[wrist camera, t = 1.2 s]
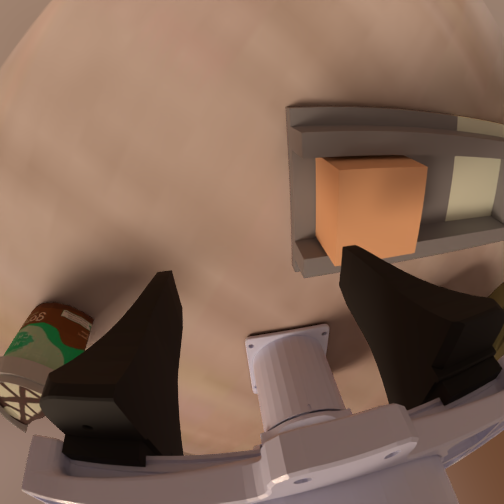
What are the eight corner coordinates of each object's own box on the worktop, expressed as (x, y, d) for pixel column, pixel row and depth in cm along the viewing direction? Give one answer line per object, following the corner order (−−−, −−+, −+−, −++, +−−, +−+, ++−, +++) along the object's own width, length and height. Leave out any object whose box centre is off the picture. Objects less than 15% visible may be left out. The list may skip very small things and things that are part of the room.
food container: (50, 267, 21) (-2, 354, 13) (102, 311, 24) (73, 406, 16) (7, 328, 24) (-28, 398, 15) (48, 360, 27) (24, 433, 18)
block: (387, 226, 22) (414, 253, 19) (315, 235, 22) (334, 266, 18) (394, 150, 19) (427, 166, 15) (315, 153, 18) (339, 170, 15)
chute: (484, 233, 25) (504, 250, 22) (292, 264, 24) (303, 292, 21) (502, 124, 19) (528, 133, 16) (285, 107, 18) (300, 111, 15)
